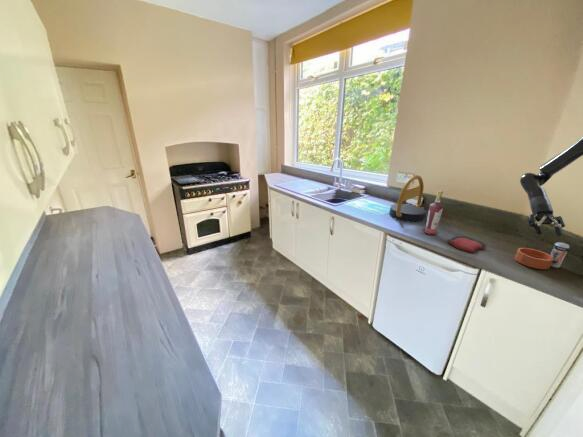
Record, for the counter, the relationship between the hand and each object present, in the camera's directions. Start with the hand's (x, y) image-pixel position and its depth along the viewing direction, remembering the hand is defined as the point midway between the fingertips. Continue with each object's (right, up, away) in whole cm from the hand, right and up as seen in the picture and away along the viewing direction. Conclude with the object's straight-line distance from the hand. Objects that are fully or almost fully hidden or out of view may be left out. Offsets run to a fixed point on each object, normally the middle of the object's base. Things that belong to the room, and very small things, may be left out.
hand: (549, 234), depth 118 cm
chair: (-43, +10, +61) cm, 75 cm away
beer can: (-2, -15, -3) cm, 16 cm away
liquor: (-42, -2, +31) cm, 53 cm away
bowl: (-11, -14, -1) cm, 18 cm away
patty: (-31, -8, +16) cm, 35 cm away
